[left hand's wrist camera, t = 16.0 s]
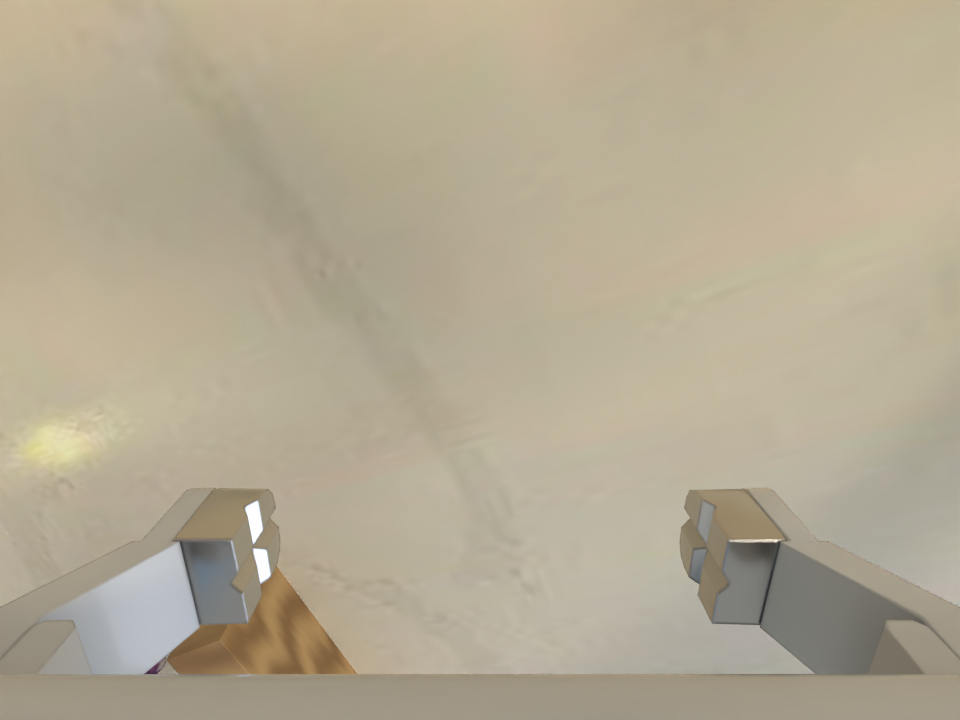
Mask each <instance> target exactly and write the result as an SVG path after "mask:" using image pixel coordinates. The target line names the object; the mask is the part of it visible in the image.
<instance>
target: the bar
mask: <svg viewBox="0 0 960 720" xmlns="http://www.w3.org/2000/svg"><path fill="white" fill-rule="evenodd" d="M260 585H261V591H262V596H261V598H260V600H259V602H258V604H257V606H256V608H255V610H254V612H253V614H252V616H251V618H250V620H249V622H248V624H214V625H200V628H199V629H197V630H196V631H195V632H194V633H193V634H191V635H190V636H189V637H188V638H187V639H186V640H184V641H183V642H182V643H181V644H180V645H178V646H177V647H176V648H175V649H174V650H173V651H172V652H171V654H170V655H169V657H168V659H167V661H168V662H169V664H170V665H171V666H172V667H173V668H174V669H175V670H176V671H177V672H178V673H179V674H357V673H356V672H355V670H354V669H353V668H352V666H351V665H350V664H349V662H348V661H347V660H346V658H345V657H344V656H343V654H342V653H341V652H340V650H339V649H338V648H337V646H336V645H335V644H334V642H333V641H332V640H331V638H330V637H329V636H328V634H327V633H326V632H325V630H324V629H323V628H322V626H321V625H320V624H319V622H318V621H317V620H316V618H315V617H314V616H313V614H312V613H311V612H310V610H309V609H308V608H307V606H306V605H305V604H304V602H303V601H302V600H301V598H300V597H299V596H298V594H297V593H296V592H295V590H294V589H293V588H292V586H291V585H290V584H289V582H288V581H287V580H286V578H285V577H284V576H283V574H282V573H281V572H280V570H279V569H278V568H277V566H276V568H275V570H274V572H273V574H272V576H271V577H270V578H269V579H268V580H266V581H265V582H263V583H262V584H260Z"/></svg>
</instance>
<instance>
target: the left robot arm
mask: <svg viewBox="0 0 960 720" xmlns="http://www.w3.org/2000/svg"><path fill="white" fill-rule="evenodd" d="M274 510H275V503H274V498H273V493H272V492H271V491H269V490H268V489H234V488H218V489H216V488H192V489H189V490H186V491H185V492H184V494H183V495H182V496H181V497H180V498H179V499H178V500H177V501H176V503H175V504H174V505H173V506H172V507H171V508H170V509H169V510H168V512H167V513H166V514H165V515H164V516H163V517H162V518H161V519H160V521H159V522H158V523H157V524H156V525H155V526H154V527H153V528H152V530H151V531H150V532H149V533H148V534H147V535H146V536H145V537H144V539H143V540H142V541H132V542H130V543H128V544H126V545H124V546H122V547H120V548H118V549H116V550H114V551H112V552H110V553H108V554H106V555H104V556H102V557H100V558H98V559H96V560H94V561H92V562H90V563H88V564H86V565H84V566H82V567H80V568H78V569H76V570H74V571H72V572H70V573H68V574H66V575H64V576H62V577H60V578H58V579H56V580H54V581H52V582H50V583H48V584H46V585H44V586H42V587H40V588H38V589H36V590H34V591H32V592H30V593H28V594H26V595H24V596H22V597H20V598H18V599H16V600H14V601H12V602H10V603H8V604H6V605H4V606H2V607H0V720H960V607H958V606H956V605H954V604H952V603H950V602H948V601H946V600H944V599H942V598H940V597H938V596H936V595H934V594H932V593H930V592H928V591H926V590H924V589H922V588H920V587H918V586H916V585H914V584H912V583H910V582H908V581H906V580H904V579H902V578H900V577H898V576H896V575H894V574H892V573H890V572H888V571H886V570H884V569H882V568H880V567H878V566H876V565H874V564H872V563H870V562H868V561H866V560H864V559H862V558H860V557H858V556H856V555H854V554H852V553H850V552H848V551H846V550H844V549H842V548H840V547H838V546H836V545H834V544H832V543H830V542H828V541H818V540H817V539H816V537H815V536H814V535H813V534H812V533H811V532H810V531H809V530H808V528H807V527H806V526H805V525H804V524H803V523H802V522H801V521H800V519H799V518H798V517H797V516H796V515H795V514H794V513H793V512H792V510H791V509H790V508H789V507H788V506H787V505H786V504H785V503H784V501H783V500H782V499H781V498H780V497H779V496H778V495H777V494H776V492H775V491H773V490H771V489H769V488H744V489H716V490H689V493H688V495H687V497H686V502H685V510H686V512H687V513H688V515H689V517H690V519H689V520H688V521H687V522H686V523H685V524H684V525H683V526H682V527H681V535H680V551H681V558H682V562H683V565H684V568H685V570H686V572H687V574H688V576H689V577H690V578H691V579H692V580H694V581H695V582H697V583H698V584H700V585H699V591H698V596H699V598H700V600H701V602H702V604H703V606H704V608H705V610H706V612H707V614H708V616H709V618H710V620H711V622H712V624H745V625H760V628H762V629H763V630H764V631H765V632H766V633H768V634H769V635H770V636H771V637H772V638H774V639H775V640H776V641H777V642H778V643H779V644H781V645H782V646H783V647H784V648H785V649H787V650H788V651H789V652H790V653H791V654H793V655H794V656H795V657H796V658H797V659H799V660H800V661H801V662H802V663H803V664H805V665H806V666H807V667H808V668H809V669H811V670H812V671H813V672H814V673H815V674H145V673H146V672H147V671H148V670H150V669H151V668H152V667H153V666H154V665H156V664H157V663H158V662H159V661H160V660H162V659H163V658H164V657H165V656H166V655H168V654H169V653H170V652H171V651H172V650H174V649H175V648H176V647H177V646H178V645H180V644H181V643H182V642H183V641H184V640H186V639H187V638H188V637H189V636H190V635H191V634H193V633H194V632H195V631H196V630H197V629H199V628H200V625H214V624H248V622H249V620H250V618H251V616H252V614H253V612H254V610H255V608H256V606H257V604H258V602H259V600H260V598H261V596H262V591H261V585H260V584H262V583H263V582H265V581H266V580H268V579H269V578H270V577H271V576H272V574H273V572H274V570H275V568H276V566H277V561H278V557H279V552H280V533H279V527H278V526H277V525H276V524H275V523H274V522H273V521H272V520H271V519H270V517H271V515H272V513H273V512H274Z"/></svg>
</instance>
